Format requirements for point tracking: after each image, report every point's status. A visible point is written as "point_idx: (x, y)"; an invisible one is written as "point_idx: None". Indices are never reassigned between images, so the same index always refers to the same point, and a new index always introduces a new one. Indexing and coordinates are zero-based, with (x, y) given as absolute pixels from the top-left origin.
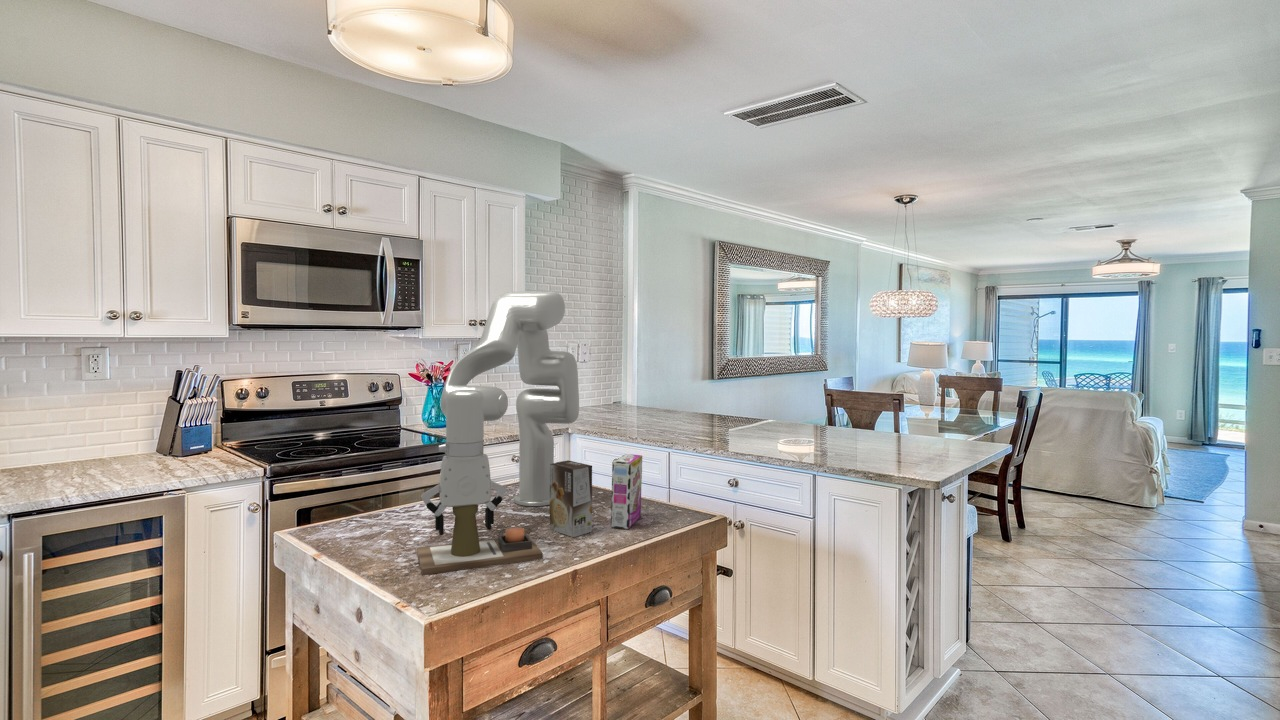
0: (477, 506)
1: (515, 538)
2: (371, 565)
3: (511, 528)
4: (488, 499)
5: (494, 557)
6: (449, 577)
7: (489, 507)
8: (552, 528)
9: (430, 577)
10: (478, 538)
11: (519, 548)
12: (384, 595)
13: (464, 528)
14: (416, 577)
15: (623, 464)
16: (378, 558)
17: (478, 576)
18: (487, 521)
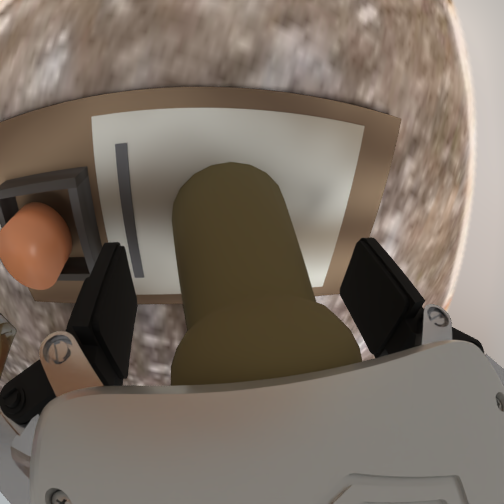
0: (176, 382)
1: (29, 210)
2: (434, 240)
3: (41, 280)
4: (50, 416)
5: (128, 111)
6: (325, 46)
7: (78, 357)
8: (8, 326)
9: (375, 83)
10: (176, 231)
11: (33, 177)
12: (466, 55)
13: (267, 240)
14: (403, 108)
15: None
16: (409, 274)
17: (225, 5)
18: (114, 278)
